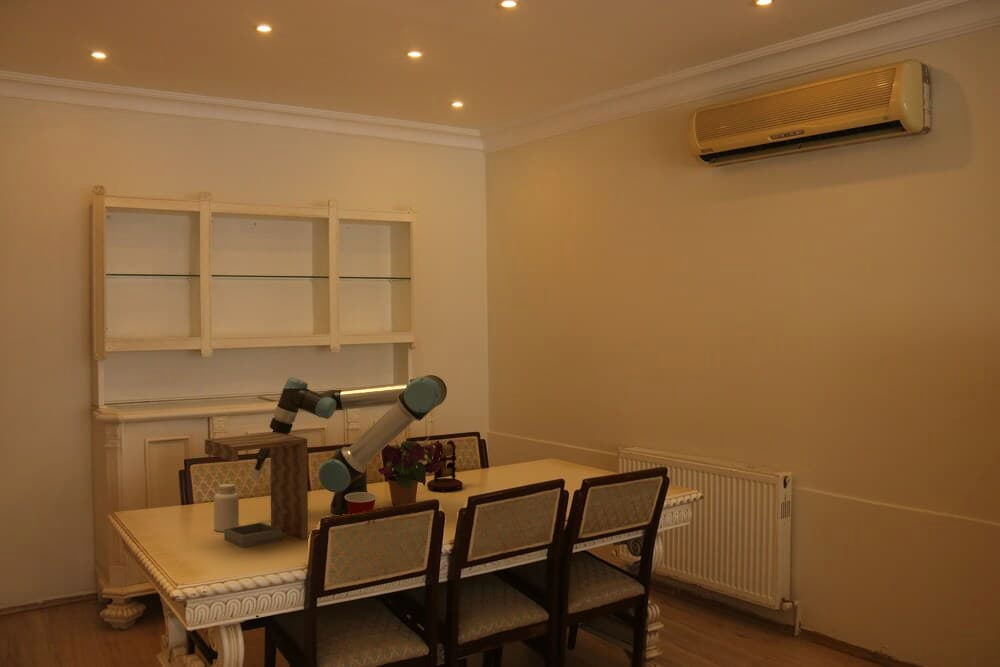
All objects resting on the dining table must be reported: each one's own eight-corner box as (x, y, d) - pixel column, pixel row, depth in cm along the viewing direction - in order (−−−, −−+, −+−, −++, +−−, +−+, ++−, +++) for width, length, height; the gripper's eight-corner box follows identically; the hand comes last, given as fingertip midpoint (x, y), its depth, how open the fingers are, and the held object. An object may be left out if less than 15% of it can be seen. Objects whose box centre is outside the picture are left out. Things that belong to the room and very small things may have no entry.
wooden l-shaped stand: (205, 539, 275) (204, 439, 274) (276, 526, 292) (275, 432, 291) (235, 553, 260) (234, 446, 259) (307, 538, 277) (307, 438, 276)
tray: (224, 539, 275) (224, 528, 275) (261, 532, 284) (261, 522, 284) (243, 547, 266) (242, 536, 266) (280, 540, 274) (280, 529, 274)
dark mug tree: (447, 484, 365) (447, 437, 365) (469, 489, 354) (469, 441, 354) (419, 488, 355) (419, 441, 355) (442, 494, 344) (441, 445, 344)
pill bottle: (243, 527, 291) (243, 483, 291) (228, 533, 284) (228, 488, 283) (224, 525, 294) (223, 482, 293) (209, 531, 286) (208, 486, 286)
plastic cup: (350, 536, 279) (350, 500, 278) (340, 529, 288) (340, 494, 288) (381, 532, 284) (381, 496, 283) (371, 525, 293) (371, 490, 293)
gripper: (286, 415, 316) (266, 468, 316) (260, 418, 291) (238, 476, 291) (304, 422, 315) (284, 476, 315) (279, 425, 290) (257, 484, 290)
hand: (262, 476), depth 303 cm, fingers open, 13 cm apart
